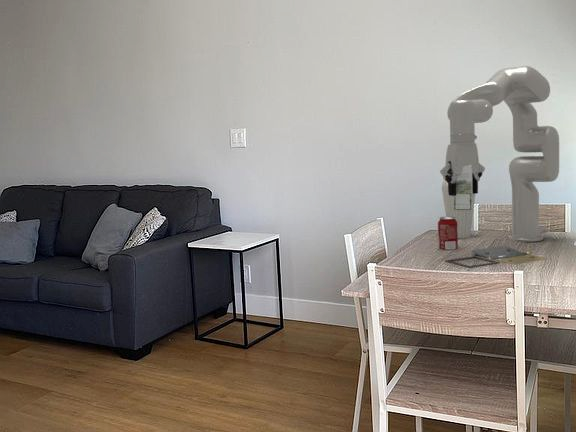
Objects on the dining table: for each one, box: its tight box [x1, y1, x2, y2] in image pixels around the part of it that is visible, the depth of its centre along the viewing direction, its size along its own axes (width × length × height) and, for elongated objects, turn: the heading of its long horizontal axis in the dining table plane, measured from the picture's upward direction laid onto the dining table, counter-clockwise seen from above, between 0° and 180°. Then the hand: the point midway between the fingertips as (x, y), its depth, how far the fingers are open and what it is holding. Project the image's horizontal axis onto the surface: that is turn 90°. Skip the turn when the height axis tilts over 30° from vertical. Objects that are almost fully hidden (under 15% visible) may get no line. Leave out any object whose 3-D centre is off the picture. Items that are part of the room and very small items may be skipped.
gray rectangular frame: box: [445, 255, 501, 272], centre depth 194 cm, size 12×12×1 cm
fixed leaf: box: [485, 250, 549, 266], centre depth 196 cm, size 18×11×2 cm, turn 113°
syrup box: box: [454, 165, 474, 210], centre depth 197 cm, size 6×6×14 cm
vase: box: [441, 178, 476, 240], centre depth 244 cm, size 13×13×26 cm
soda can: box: [437, 216, 459, 251], centre depth 219 cm, size 7×7×12 cm
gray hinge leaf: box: [471, 245, 527, 261], centre depth 204 cm, size 14×10×1 cm
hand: (463, 194), depth 197 cm, fingers closed on syrup box, 7 cm apart
